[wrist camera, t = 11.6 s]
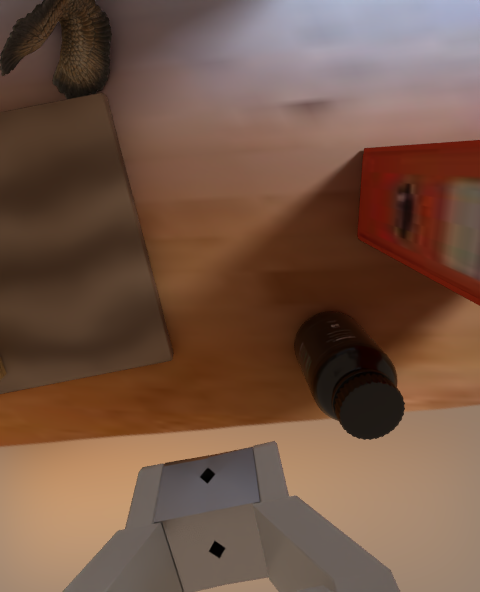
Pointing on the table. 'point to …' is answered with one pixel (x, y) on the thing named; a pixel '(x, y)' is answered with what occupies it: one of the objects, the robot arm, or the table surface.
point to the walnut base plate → (71, 250)
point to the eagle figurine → (65, 44)
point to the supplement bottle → (349, 375)
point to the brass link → (2, 369)
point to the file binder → (425, 210)
